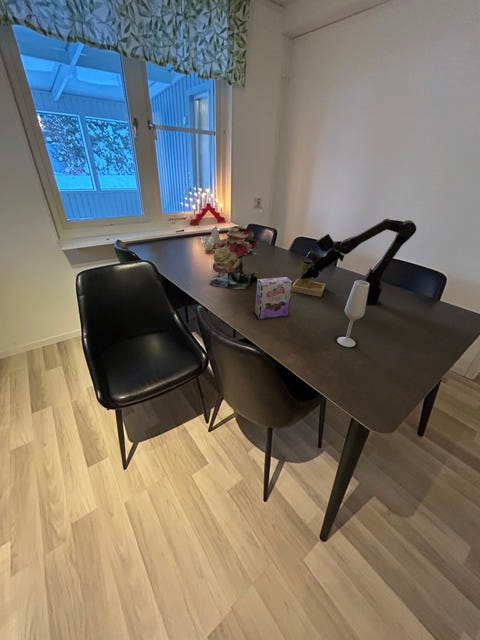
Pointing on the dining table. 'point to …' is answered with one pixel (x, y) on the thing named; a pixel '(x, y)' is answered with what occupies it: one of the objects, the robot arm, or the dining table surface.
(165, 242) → the dining table surface
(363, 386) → the dining table surface
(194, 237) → the dining table surface
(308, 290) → the tray
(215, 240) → the chinaware
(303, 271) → the vase
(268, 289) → the candy box
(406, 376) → the dining table surface
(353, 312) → the champagne flute
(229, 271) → the rose bouquet
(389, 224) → the robot arm
